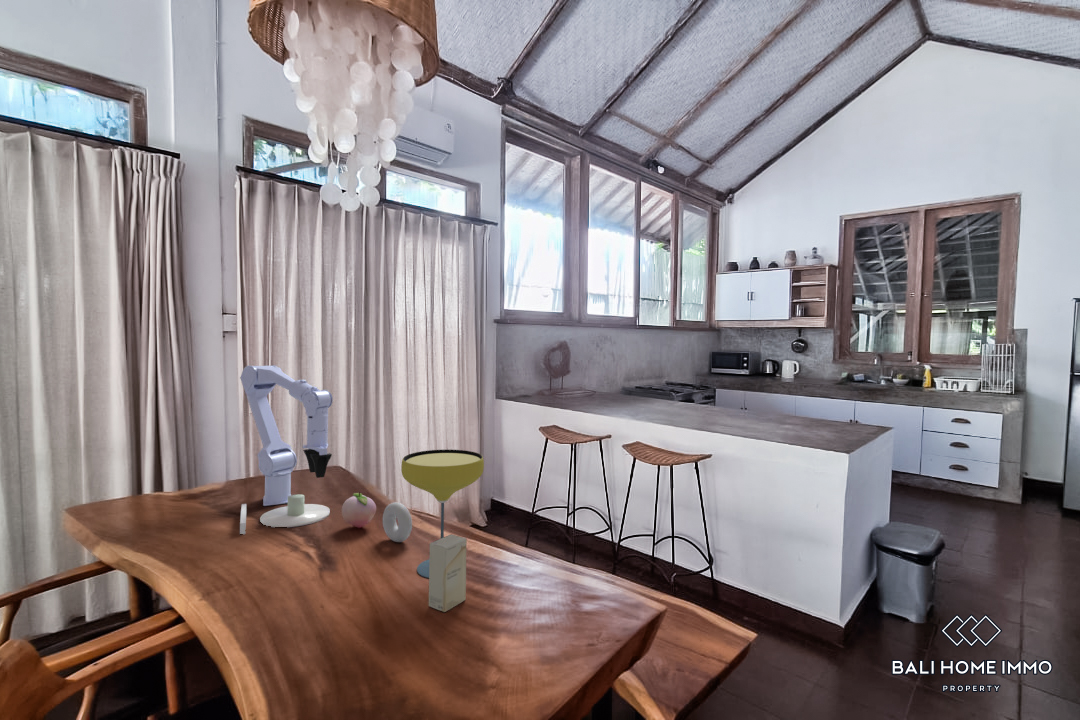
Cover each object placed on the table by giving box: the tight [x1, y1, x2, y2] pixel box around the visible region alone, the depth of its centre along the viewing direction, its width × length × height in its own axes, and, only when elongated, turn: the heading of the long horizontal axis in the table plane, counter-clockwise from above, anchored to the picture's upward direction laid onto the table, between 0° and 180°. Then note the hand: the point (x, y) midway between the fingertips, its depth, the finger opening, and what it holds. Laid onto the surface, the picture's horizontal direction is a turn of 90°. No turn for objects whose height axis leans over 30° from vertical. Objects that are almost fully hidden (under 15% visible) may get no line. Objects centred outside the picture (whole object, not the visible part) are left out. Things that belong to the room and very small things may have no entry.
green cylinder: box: [286, 493, 305, 516], centre depth 141 cm, size 4×4×5 cm
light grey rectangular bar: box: [239, 503, 247, 535], centre depth 134 cm, size 18×1×3 cm, turn 30°
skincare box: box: [428, 533, 468, 613], centre depth 94 cm, size 6×4×12 cm
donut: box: [382, 501, 413, 543], centre depth 124 cm, size 10×3×10 cm, turn 53°
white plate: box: [259, 503, 331, 528], centre depth 141 cm, size 18×18×1 cm
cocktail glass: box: [400, 449, 485, 579], centre depth 109 cm, size 18×18×25 cm
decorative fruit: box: [341, 491, 377, 529], centre depth 132 cm, size 9×8×10 cm
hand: (317, 474), depth 148 cm, fingers open, 7 cm apart
